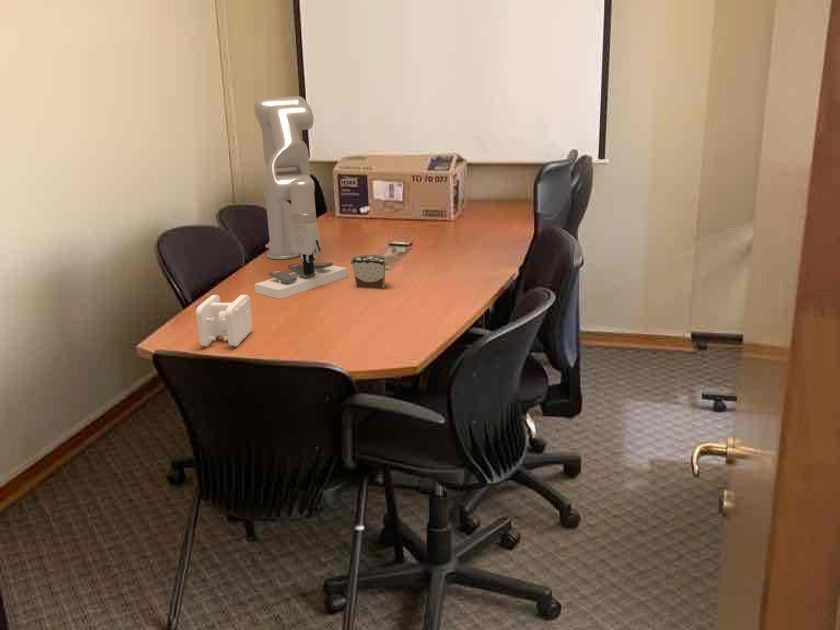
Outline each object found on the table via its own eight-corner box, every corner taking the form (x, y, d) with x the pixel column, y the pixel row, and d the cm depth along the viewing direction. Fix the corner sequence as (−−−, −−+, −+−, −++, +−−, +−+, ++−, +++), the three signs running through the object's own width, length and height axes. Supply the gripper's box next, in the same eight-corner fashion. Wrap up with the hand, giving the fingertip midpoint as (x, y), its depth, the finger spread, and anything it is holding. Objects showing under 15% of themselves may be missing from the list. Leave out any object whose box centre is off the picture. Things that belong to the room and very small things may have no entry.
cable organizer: (219, 330, 249) (214, 291, 246) (255, 331, 248) (250, 292, 244) (199, 349, 235) (194, 308, 231) (237, 350, 234) (232, 309, 230)
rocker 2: (287, 268, 290) (287, 265, 289) (296, 265, 292) (297, 262, 292) (305, 278, 285) (306, 275, 284) (314, 275, 288) (315, 272, 287)
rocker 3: (306, 267, 296) (305, 264, 295) (315, 265, 298) (314, 261, 298) (324, 268, 290) (323, 264, 289) (332, 265, 292) (332, 262, 292)
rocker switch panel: (255, 292, 283) (254, 281, 282) (323, 271, 304) (322, 260, 303) (279, 299, 275) (278, 287, 274) (347, 276, 297) (346, 265, 295)
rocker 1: (268, 275, 284) (268, 272, 284) (278, 272, 287) (278, 269, 286) (287, 283, 279) (287, 280, 278) (296, 280, 282) (296, 277, 281)
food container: (394, 284, 286) (392, 254, 283) (387, 290, 280) (385, 259, 277) (359, 282, 290) (357, 253, 287) (352, 287, 284) (350, 258, 281)
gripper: (280, 218, 282) (285, 272, 288) (311, 222, 273) (316, 279, 278) (297, 213, 288) (302, 267, 293) (328, 218, 278) (333, 274, 284)
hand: (309, 273), depth 286 cm, fingers closed
